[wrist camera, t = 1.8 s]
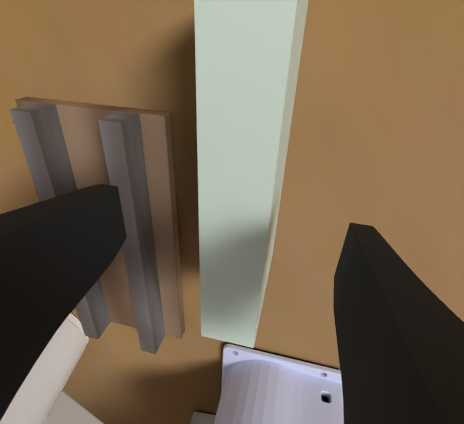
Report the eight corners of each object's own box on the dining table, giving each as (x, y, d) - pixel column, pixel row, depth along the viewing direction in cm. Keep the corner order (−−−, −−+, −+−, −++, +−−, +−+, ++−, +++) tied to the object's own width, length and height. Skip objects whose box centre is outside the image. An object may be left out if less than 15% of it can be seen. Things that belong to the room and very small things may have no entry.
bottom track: (170, 112, 16) (148, 125, 14) (184, 330, 26) (172, 358, 24) (26, 97, 18) (-14, 106, 16) (89, 307, 28) (69, 332, 25)
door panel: (310, -17, 12) (303, -53, 7) (272, 253, 20) (253, 348, 14) (249, -19, 13) (193, -53, 7) (234, 246, 20) (201, 335, 14)
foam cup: (1, 307, 31) (-167, 457, 20) (46, 278, 27) (-137, 449, 16) (70, 364, 34) (-45, 522, 23) (121, 346, 30) (9, 531, 19)
